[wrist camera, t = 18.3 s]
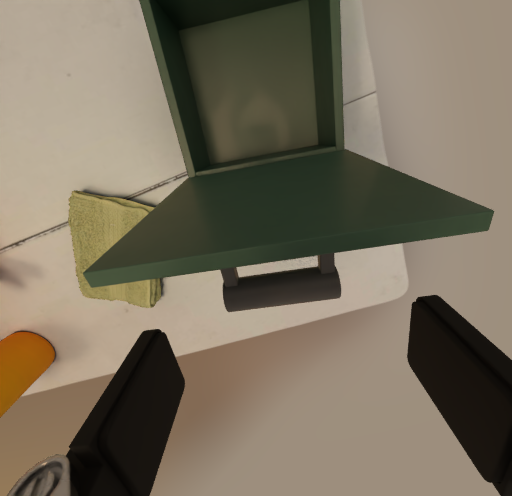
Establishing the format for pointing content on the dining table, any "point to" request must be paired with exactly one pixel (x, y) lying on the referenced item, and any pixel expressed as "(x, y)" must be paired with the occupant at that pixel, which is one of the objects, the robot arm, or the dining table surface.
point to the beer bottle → (21, 365)
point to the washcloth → (107, 243)
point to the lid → (284, 226)
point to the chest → (249, 79)
